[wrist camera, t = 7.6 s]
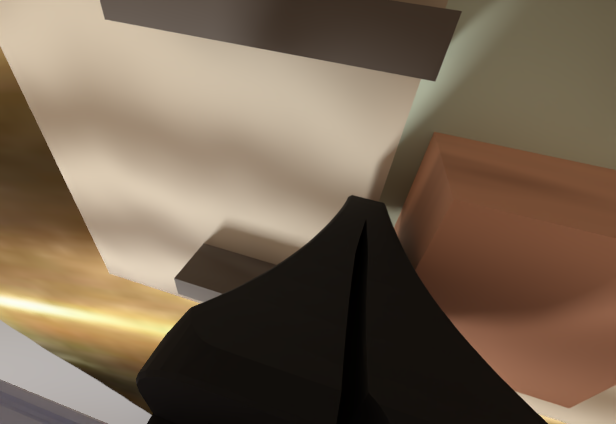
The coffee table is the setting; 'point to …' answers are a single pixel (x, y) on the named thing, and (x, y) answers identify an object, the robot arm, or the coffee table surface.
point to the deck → (294, 117)
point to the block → (520, 261)
